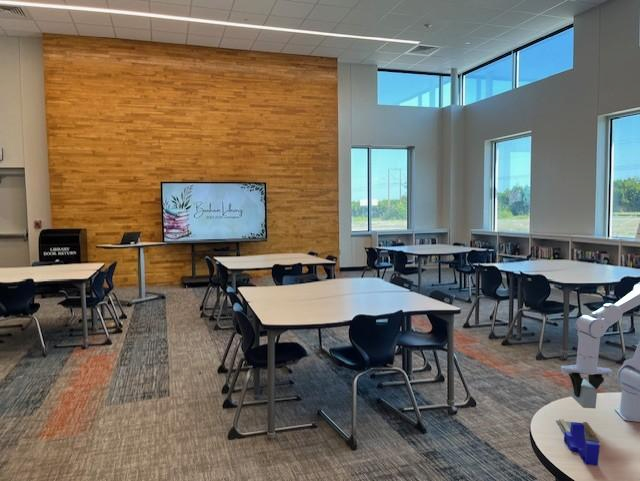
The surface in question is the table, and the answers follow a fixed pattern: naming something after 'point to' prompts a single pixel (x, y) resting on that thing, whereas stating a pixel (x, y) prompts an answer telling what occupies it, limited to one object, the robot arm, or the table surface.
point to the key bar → (586, 395)
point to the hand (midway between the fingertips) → (583, 396)
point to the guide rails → (584, 426)
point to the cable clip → (582, 444)
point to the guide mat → (587, 436)
